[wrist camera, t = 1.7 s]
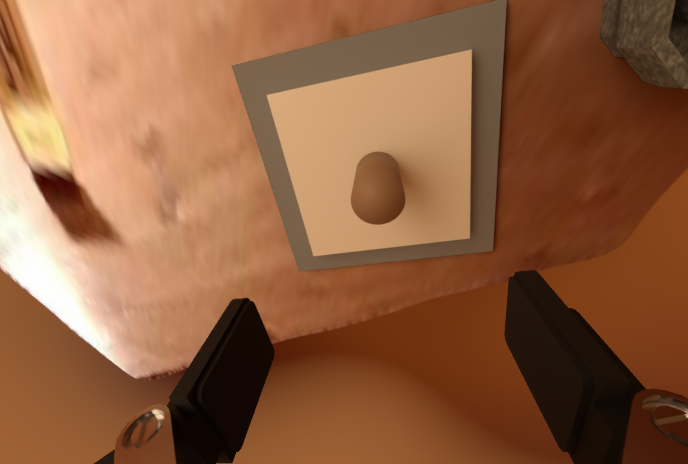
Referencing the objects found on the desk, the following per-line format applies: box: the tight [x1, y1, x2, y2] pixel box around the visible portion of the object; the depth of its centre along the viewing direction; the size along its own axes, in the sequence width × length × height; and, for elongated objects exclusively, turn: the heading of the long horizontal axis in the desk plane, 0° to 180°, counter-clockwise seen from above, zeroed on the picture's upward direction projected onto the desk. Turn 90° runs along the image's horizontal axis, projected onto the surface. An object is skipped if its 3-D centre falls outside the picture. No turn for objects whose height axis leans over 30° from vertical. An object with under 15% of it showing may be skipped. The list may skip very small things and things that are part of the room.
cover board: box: [267, 49, 472, 256], centre depth 22 cm, size 15×15×7 cm
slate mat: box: [232, 0, 507, 272], centre depth 26 cm, size 20×20×1 cm
